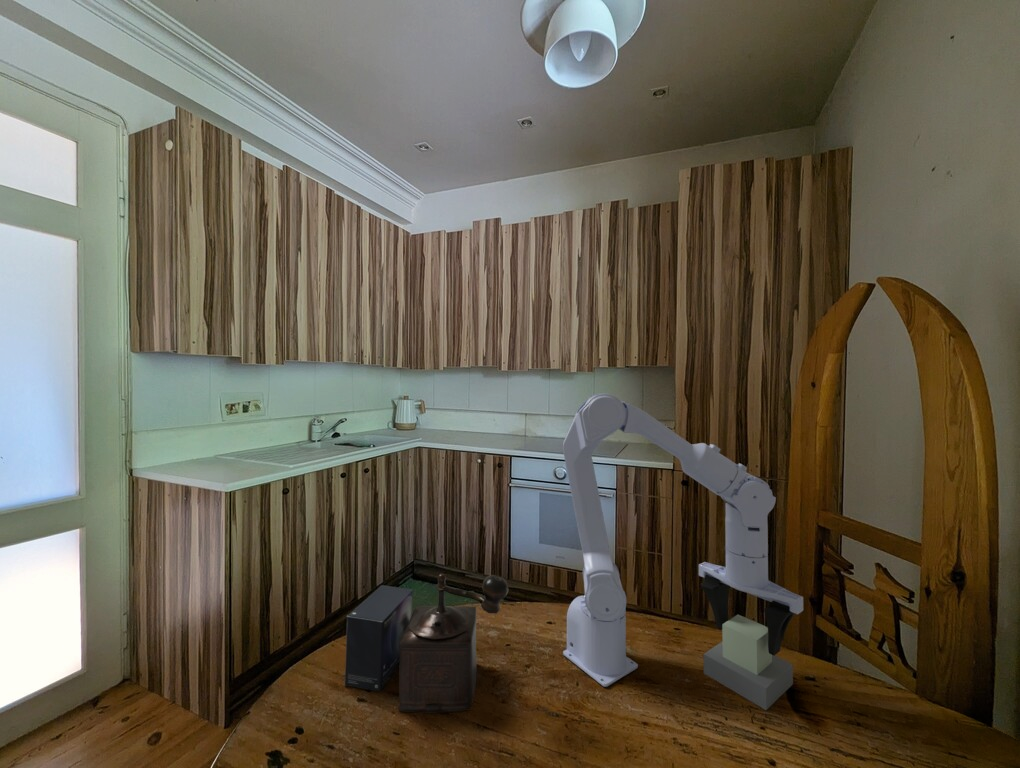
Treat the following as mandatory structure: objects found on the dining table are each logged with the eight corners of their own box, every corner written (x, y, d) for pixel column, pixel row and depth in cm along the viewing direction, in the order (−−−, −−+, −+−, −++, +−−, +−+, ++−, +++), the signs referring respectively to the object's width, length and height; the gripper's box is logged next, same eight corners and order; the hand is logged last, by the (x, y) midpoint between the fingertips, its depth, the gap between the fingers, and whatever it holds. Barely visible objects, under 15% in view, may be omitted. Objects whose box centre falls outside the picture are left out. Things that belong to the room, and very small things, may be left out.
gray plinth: (703, 673, 63) (703, 654, 63) (732, 652, 68) (732, 634, 68) (766, 710, 56) (765, 688, 56) (793, 683, 61) (792, 663, 61)
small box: (382, 693, 59) (383, 621, 59) (342, 687, 60) (343, 616, 60) (413, 649, 69) (414, 587, 69) (379, 644, 70) (380, 583, 71)
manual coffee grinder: (394, 716, 55) (395, 583, 55) (413, 662, 66) (415, 551, 66) (508, 717, 55) (508, 583, 55) (508, 662, 66) (509, 551, 66)
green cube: (722, 656, 63) (722, 624, 63) (738, 645, 66) (737, 614, 66) (757, 675, 59) (756, 640, 59) (772, 662, 61) (771, 629, 62)
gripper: (811, 560, 59) (812, 654, 59) (713, 532, 71) (714, 610, 70) (791, 572, 55) (792, 673, 55) (691, 540, 67) (691, 623, 66)
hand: (747, 639), depth 62 cm, fingers open, 7 cm apart
